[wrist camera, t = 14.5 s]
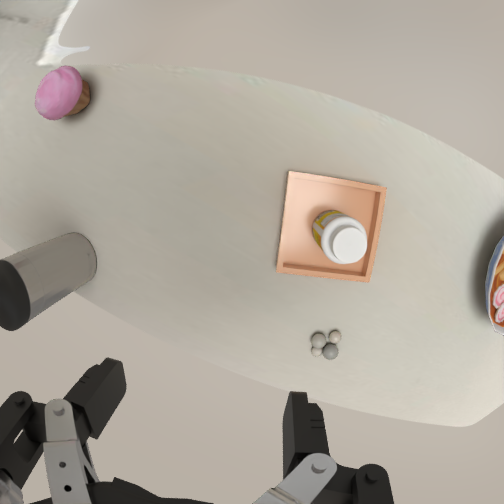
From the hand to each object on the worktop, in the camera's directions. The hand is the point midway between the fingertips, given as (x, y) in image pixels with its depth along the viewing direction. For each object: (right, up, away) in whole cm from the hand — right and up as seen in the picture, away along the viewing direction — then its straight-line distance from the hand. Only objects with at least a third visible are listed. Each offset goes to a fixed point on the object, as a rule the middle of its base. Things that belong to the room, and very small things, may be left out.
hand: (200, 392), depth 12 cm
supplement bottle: (+13, +10, +27) cm, 32 cm away
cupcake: (-27, +32, +25) cm, 49 cm away
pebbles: (+14, -8, +32) cm, 36 cm away
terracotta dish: (+13, +10, +28) cm, 32 cm away
